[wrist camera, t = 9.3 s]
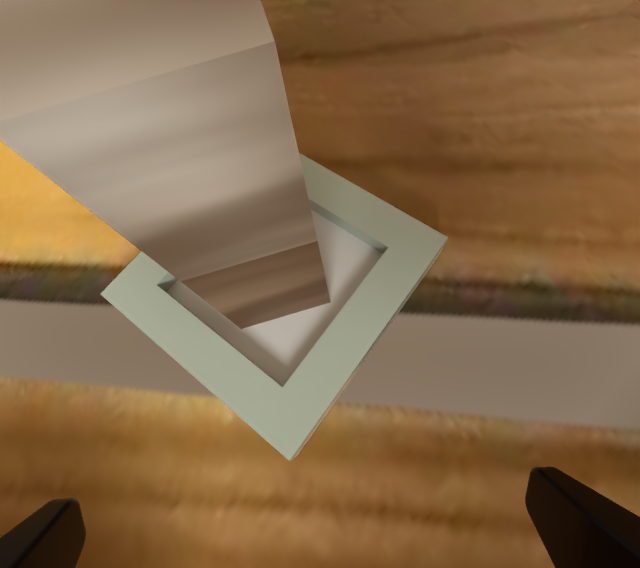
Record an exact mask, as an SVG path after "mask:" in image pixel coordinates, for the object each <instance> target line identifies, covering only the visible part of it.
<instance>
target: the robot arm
mask: <svg viewBox="0 0 640 568" xmlns="http://www.w3.org/2000/svg"><path fill="white" fill-rule="evenodd" d="M525 502H526V507H527V510H528V513H529V515H530V517H531V519H532V521H533V523H534V525H535V527H536V529H537V531H538V533H539V535H540V537H541V539H542V541H543V544H544V546H545V548H546V550H547V552H548V554H549V556H550V558H551V560H552V562H553V564H554V566H555V568H640V517H639V516H637V515H635V514H634V513H632V512H630V511H628V510H627V509H625V508H623V507H622V506H620V505H618V504H616V503H615V502H613V501H611V500H610V499H608V498H606V497H604V496H603V495H601V494H599V493H598V492H596V491H594V490H593V489H591V488H589V487H587V486H586V485H584V484H582V483H581V482H579V481H577V480H575V479H574V478H572V477H570V476H569V475H567V474H565V473H563V472H562V471H560V470H558V469H556V468H554V467H536V468H533V469H532V470H531V472H530V476H529V482H528V487H527V492H526V497H525ZM85 536H86V531H85V526H84V522H83V517H82V513H81V509H80V505H79V502H78V501H77V500H76V499H74V498H69V499H55V500H52V501H50V502H48V503H47V504H45V505H44V506H43V507H41V508H40V509H39V510H37V511H36V512H35V513H33V514H32V515H31V516H29V517H28V518H27V519H25V520H24V521H22V522H21V523H20V524H18V525H17V526H16V527H14V528H13V529H12V530H10V531H9V532H8V533H6V534H5V535H4V536H2V537H1V538H0V568H75V567H76V564H77V561H78V559H79V556H80V554H81V551H82V548H83V545H84V542H85Z"/></svg>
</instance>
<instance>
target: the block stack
mask: <svg viewBox="0 0 640 568" xmlns="http://www.w3.org/2000/svg"><path fill="white" fill-rule="evenodd" d="M0 140H1V141H2V142H3V143H4V144H6V145H7V146H8V147H10V148H11V149H12V150H13V151H15V152H16V153H17V154H18V155H20V156H21V157H22V158H24V159H25V160H26V161H27V162H29V163H30V164H31V165H32V166H34V167H35V168H36V169H38V170H39V171H40V172H41V173H43V174H44V175H45V176H47V177H48V178H49V179H50V180H52V181H53V182H54V183H55V184H57V185H58V186H59V187H61V188H62V189H63V190H64V191H66V192H67V193H68V194H69V195H71V196H72V197H73V198H75V199H76V200H77V201H78V202H80V203H81V204H82V205H84V206H85V207H86V208H87V209H89V210H90V211H91V212H92V213H94V214H95V215H96V216H98V217H99V218H100V219H101V220H103V221H104V222H105V223H106V224H108V225H109V226H110V227H112V228H113V229H114V230H115V231H117V232H118V233H119V234H121V235H122V236H123V237H124V238H126V239H127V240H128V241H129V242H131V243H132V244H133V245H135V246H136V247H137V248H138V249H140V250H141V251H142V252H143V253H145V254H146V255H147V256H149V257H150V258H151V259H152V260H154V261H155V262H156V263H158V264H159V265H160V266H161V267H163V268H164V269H165V270H166V271H168V272H169V273H170V274H172V275H173V276H174V277H175V278H177V279H178V280H179V281H180V282H182V283H183V284H184V285H186V286H187V287H188V288H189V289H191V290H192V291H193V292H195V293H196V294H197V295H198V296H200V297H201V298H202V299H203V300H205V301H206V302H207V303H209V304H210V305H211V306H212V307H214V308H215V309H216V310H217V311H219V312H220V313H221V314H223V315H224V316H225V317H226V318H228V319H229V320H230V321H232V322H233V323H234V324H235V325H237V326H238V327H239V328H240V329H243V328H247V327H250V326H253V325H257V324H260V323H263V322H267V321H270V320H273V319H277V318H280V317H283V316H287V315H290V314H294V313H297V312H300V311H304V310H307V309H310V308H314V307H317V306H320V305H324V304H327V303H330V302H331V301H330V297H329V292H328V287H327V283H326V278H325V273H324V269H323V264H322V259H321V255H320V250H319V245H318V241H317V236H316V231H315V227H314V222H313V217H312V213H311V208H310V203H309V199H308V194H307V189H306V185H305V180H304V175H303V171H302V166H301V161H300V157H299V152H298V147H297V143H296V138H295V133H294V129H293V124H292V119H291V115H290V110H289V105H288V101H287V96H286V91H285V87H284V82H283V77H282V73H281V68H280V63H279V59H278V54H277V49H276V45H275V41H274V38H273V35H272V32H271V29H270V26H269V23H268V20H267V17H266V14H265V11H264V9H263V6H262V3H261V0H0Z"/></svg>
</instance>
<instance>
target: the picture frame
mask: <svg viewBox="0 0 640 568" xmlns="http://www.w3.org/2000/svg"><path fill="white" fill-rule="evenodd" d="M299 157H300V161H301V166H302V171H303V175H304V180H305V185H306V189H307V194H308V199H309V203H310V208H311V213H312V217H313V222H314V227H315V231H316V236H317V241H318V245H319V250H320V255H321V259H322V264H323V269H324V273H325V278H326V283H327V287H328V292H329V297H330V301H331V302H330V303H327V304H324V305H320V306H317V307H314V308H310V309H307V310H304V311H300V312H297V313H294V314H290V315H287V316H283V317H280V318H277V319H273V320H270V321H267V322H263V323H260V324H257V325H253V326H250V327H247V328H243V329H240V328H239V327H238V326H237V325H235V324H234V323H233V322H232V321H230V320H229V319H228V318H226V317H225V316H224V315H223V314H221V313H220V312H219V311H217V310H216V309H215V308H214V307H212V306H211V305H210V304H209V303H207V302H206V301H205V300H203V299H202V298H201V297H200V296H198V295H197V294H196V293H195V292H193V291H192V290H191V289H189V288H188V287H187V286H186V285H184V284H183V283H182V282H180V281H179V280H178V279H177V278H175V277H174V276H173V275H172V274H170V273H169V272H168V271H166V270H165V269H164V268H163V267H161V266H160V265H159V264H158V263H156V262H155V261H154V260H152V259H151V258H150V257H149V256H147V255H146V254H145V253H143V252H142V251H141V252H140V253H139V254H138V255H137V256H136V257H135V258H134V259H133V260H132V262H131V263H130V264H129V265H128V266H127V267H126V268H125V269H124V270H123V271H122V272H121V273H120V274H119V275H118V276H117V277H116V278H115V279H114V280H113V281H112V282H111V283H110V285H109V286H108V287H107V288H106V289H105V290H104V291H103V292H102V293H101V295H102V296H103V297H104V298H105V299H107V300H108V301H109V302H110V303H111V304H112V305H113V306H114V307H116V308H117V309H118V310H119V311H120V312H122V313H123V314H124V315H125V316H126V317H127V318H128V319H129V320H130V321H131V322H133V323H134V324H135V325H136V326H137V327H138V328H139V329H141V330H142V331H143V332H144V333H145V334H146V335H147V336H148V337H150V338H151V339H152V340H153V341H154V342H155V343H156V344H158V345H159V346H160V347H161V348H162V349H163V350H164V351H165V352H167V353H168V354H169V355H170V356H171V357H172V358H174V359H175V360H176V361H177V362H178V363H179V364H180V365H182V367H184V368H185V369H186V370H187V371H188V372H189V373H191V374H192V375H193V376H194V377H195V378H196V379H197V380H198V381H199V382H201V383H202V384H203V385H204V386H205V387H206V388H207V389H209V390H210V391H211V392H212V393H213V394H214V395H215V396H216V397H218V398H219V399H220V400H221V401H222V402H223V403H224V404H226V405H227V406H228V407H229V408H230V409H231V410H232V411H233V412H235V413H236V414H237V415H238V416H239V417H240V418H241V419H243V420H244V421H245V422H246V423H247V424H248V425H249V426H250V427H252V428H253V429H254V430H255V431H256V432H257V433H258V434H260V435H261V436H262V437H263V438H264V439H265V440H266V441H267V442H269V443H270V444H271V445H272V446H273V447H274V448H275V449H277V450H278V451H279V452H280V453H281V454H282V455H283V456H284V457H286V458H287V459H288V460H289V461H290V460H292V459H293V458H295V457H296V456H297V455H298V454H299V453H300V451H301V450H302V448H303V447H304V446H305V444H306V443H307V441H308V440H309V439H310V437H311V436H312V434H313V433H314V431H315V430H316V429H317V427H318V426H319V424H320V423H321V422H322V420H323V419H324V417H325V416H326V414H327V413H328V412H329V410H330V409H331V407H332V406H333V405H334V403H335V402H336V400H337V399H338V398H339V396H340V395H341V393H342V392H343V390H344V389H345V388H346V386H347V385H348V383H349V382H350V381H351V379H352V378H353V376H354V375H355V373H356V372H357V371H358V369H359V368H360V366H361V365H362V364H363V362H364V361H365V359H366V358H367V357H368V355H369V354H370V352H371V351H372V350H373V348H374V347H375V345H376V344H377V342H378V341H379V340H380V338H381V337H382V335H383V334H384V333H385V331H386V330H387V328H388V327H389V326H390V324H391V323H392V321H393V319H394V318H395V317H396V316H397V314H398V313H399V311H400V310H401V309H402V307H403V306H404V304H405V303H406V302H407V300H408V299H409V297H410V296H411V294H412V293H413V292H414V290H415V289H416V287H417V286H418V285H419V283H420V282H421V280H422V279H423V278H424V276H425V275H426V273H427V272H428V270H429V269H430V268H431V266H432V265H433V263H434V262H435V261H436V259H437V258H438V256H439V255H440V253H441V251H442V249H443V247H444V245H445V243H446V241H447V239H448V237H446V236H445V235H443V234H441V233H439V232H438V231H436V230H434V229H432V228H431V227H429V226H427V225H425V224H424V223H422V222H420V221H418V220H417V219H415V218H413V217H411V216H410V215H408V214H406V213H404V212H403V211H401V210H399V209H397V208H395V207H394V206H392V205H390V204H388V203H387V202H385V201H383V200H381V199H380V198H378V197H376V196H374V195H373V194H371V193H369V192H367V191H366V190H364V189H362V188H360V187H359V186H357V185H355V184H353V183H352V182H350V181H348V180H346V179H344V178H343V177H341V176H339V175H337V174H336V173H334V172H332V171H330V170H329V169H327V168H325V167H323V166H322V165H320V164H318V163H316V162H315V161H313V160H311V159H309V158H308V157H306V156H304V155H302V154H301V153H299Z"/></svg>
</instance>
